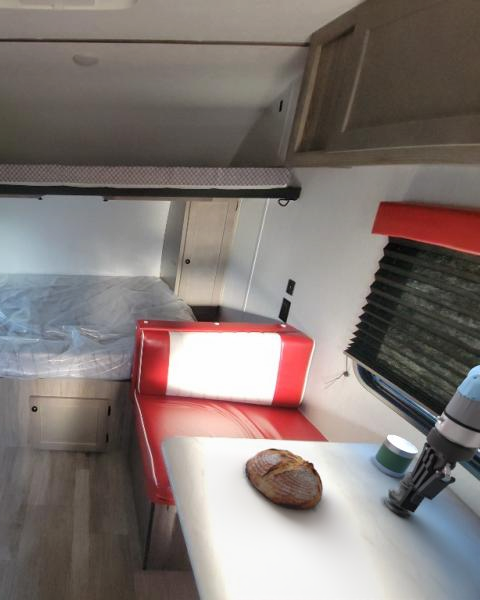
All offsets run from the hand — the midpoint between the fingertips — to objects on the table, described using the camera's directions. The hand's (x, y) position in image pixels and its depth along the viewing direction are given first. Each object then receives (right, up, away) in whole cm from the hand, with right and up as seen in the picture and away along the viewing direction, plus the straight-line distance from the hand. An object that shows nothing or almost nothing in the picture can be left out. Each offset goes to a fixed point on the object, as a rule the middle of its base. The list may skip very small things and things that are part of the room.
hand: (406, 507), depth 85 cm
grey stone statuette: (+1, -3, +4) cm, 5 cm away
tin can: (+11, +1, +17) cm, 21 cm away
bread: (-28, +2, +7) cm, 29 cm away
